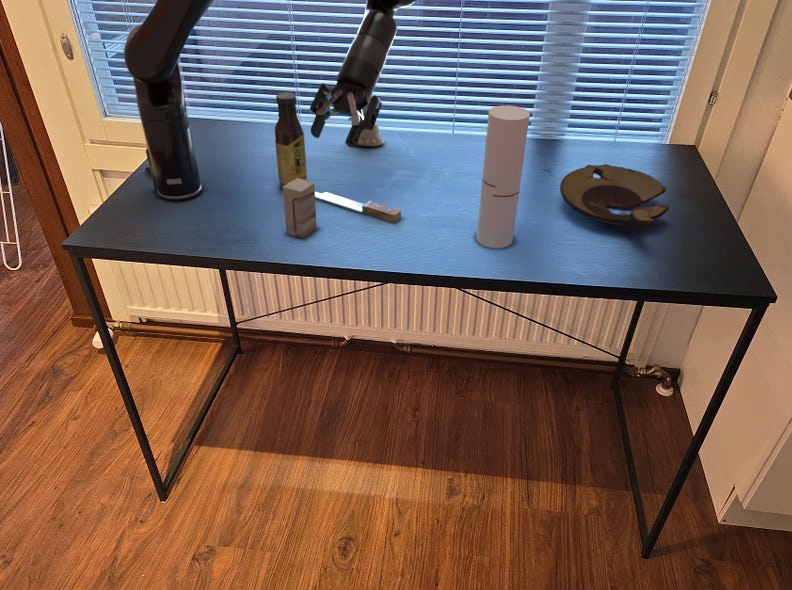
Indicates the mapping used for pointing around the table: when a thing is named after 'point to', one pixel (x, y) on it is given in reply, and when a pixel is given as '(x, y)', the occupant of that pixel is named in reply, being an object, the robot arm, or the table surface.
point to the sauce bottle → (289, 141)
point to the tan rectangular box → (300, 207)
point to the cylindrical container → (502, 175)
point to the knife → (361, 207)
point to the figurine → (369, 133)
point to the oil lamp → (613, 195)
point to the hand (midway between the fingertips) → (331, 140)
